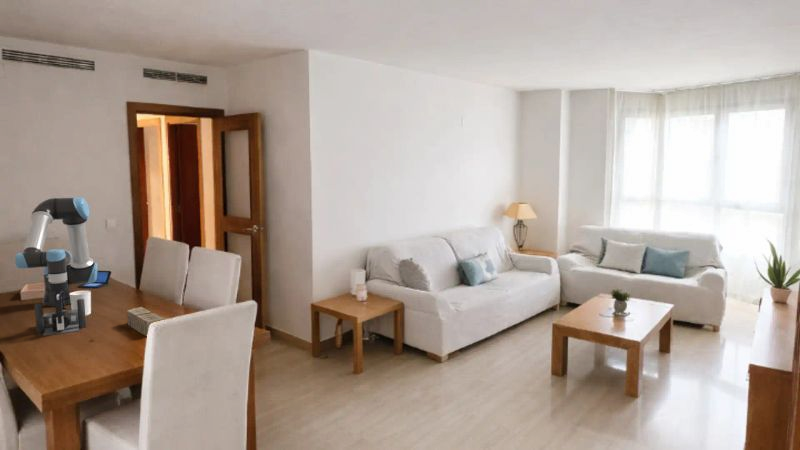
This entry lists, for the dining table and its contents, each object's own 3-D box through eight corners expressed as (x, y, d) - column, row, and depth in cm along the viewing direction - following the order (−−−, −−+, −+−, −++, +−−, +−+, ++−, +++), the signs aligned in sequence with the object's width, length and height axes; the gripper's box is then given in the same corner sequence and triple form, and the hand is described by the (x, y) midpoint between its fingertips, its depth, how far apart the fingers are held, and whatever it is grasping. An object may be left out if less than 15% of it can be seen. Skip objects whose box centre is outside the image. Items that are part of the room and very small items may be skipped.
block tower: (126, 326, 256) (148, 338, 235) (125, 309, 255) (146, 320, 234) (143, 322, 261) (165, 334, 241) (142, 306, 260) (164, 316, 240)
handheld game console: (76, 288, 331) (75, 274, 330) (91, 283, 344) (90, 270, 343) (99, 288, 329) (98, 274, 328) (112, 284, 343) (111, 270, 342)
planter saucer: (26, 292, 319) (25, 284, 319) (64, 288, 329) (63, 281, 329) (21, 300, 301) (20, 291, 301) (61, 295, 311) (60, 287, 310)
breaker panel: (45, 325, 254) (44, 313, 253) (82, 320, 262) (81, 309, 261) (43, 329, 247) (42, 317, 247) (82, 324, 255) (81, 312, 254)
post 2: (79, 327, 251) (77, 299, 249) (86, 326, 252) (84, 298, 251) (78, 328, 248) (76, 300, 247) (86, 327, 250) (84, 300, 248)
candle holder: (82, 317, 266) (80, 295, 265) (66, 316, 268) (64, 294, 267) (96, 312, 276) (95, 290, 274) (81, 311, 278) (79, 290, 276)
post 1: (37, 332, 242) (34, 304, 241) (44, 331, 244) (42, 303, 242) (36, 334, 240) (33, 305, 238) (44, 333, 241) (41, 304, 240)
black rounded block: (70, 328, 244) (69, 315, 243) (52, 331, 240) (51, 317, 239) (70, 323, 252) (69, 310, 251) (53, 326, 248) (52, 312, 247)
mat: (45, 329, 247) (45, 328, 247) (79, 324, 254) (79, 324, 254) (43, 335, 238) (43, 335, 238) (78, 331, 245) (78, 330, 245)
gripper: (51, 278, 251) (54, 321, 254) (45, 287, 232) (49, 334, 234) (69, 276, 255) (72, 319, 257) (65, 285, 235) (69, 331, 238)
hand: (61, 326), depth 246 cm, fingers closed on black rounded block, 10 cm apart
